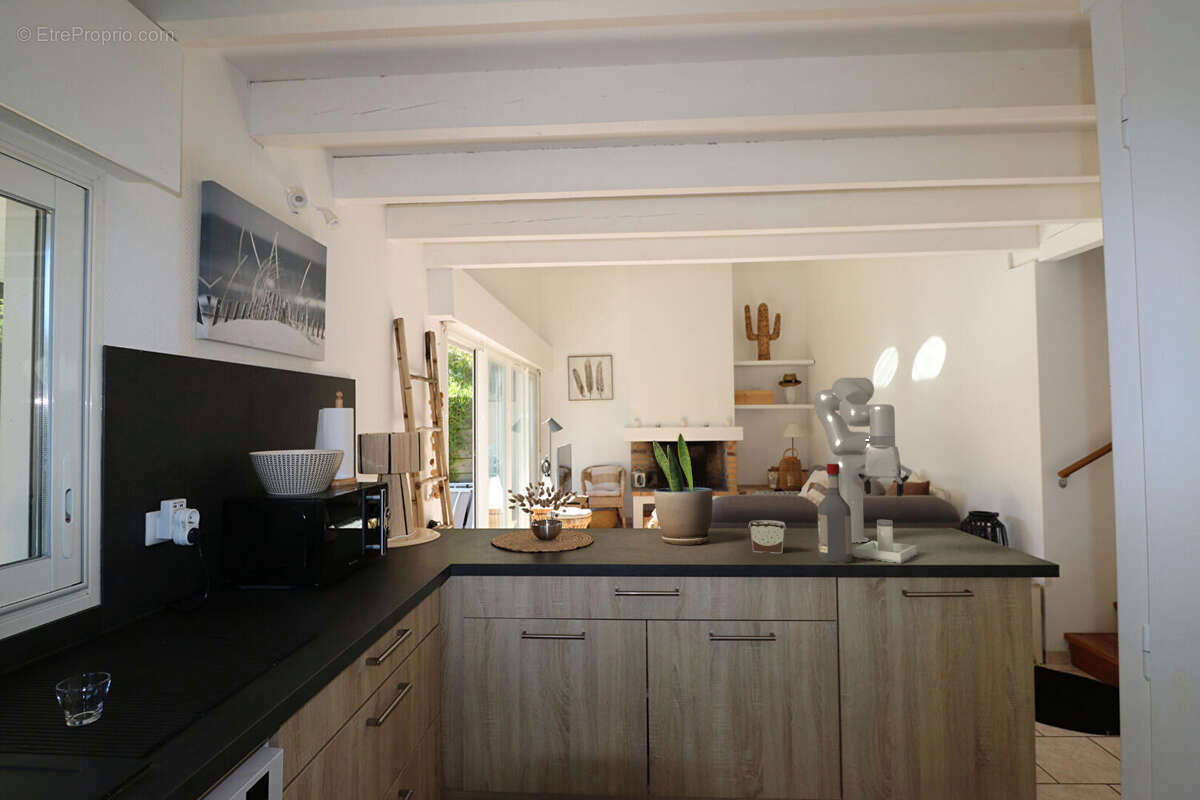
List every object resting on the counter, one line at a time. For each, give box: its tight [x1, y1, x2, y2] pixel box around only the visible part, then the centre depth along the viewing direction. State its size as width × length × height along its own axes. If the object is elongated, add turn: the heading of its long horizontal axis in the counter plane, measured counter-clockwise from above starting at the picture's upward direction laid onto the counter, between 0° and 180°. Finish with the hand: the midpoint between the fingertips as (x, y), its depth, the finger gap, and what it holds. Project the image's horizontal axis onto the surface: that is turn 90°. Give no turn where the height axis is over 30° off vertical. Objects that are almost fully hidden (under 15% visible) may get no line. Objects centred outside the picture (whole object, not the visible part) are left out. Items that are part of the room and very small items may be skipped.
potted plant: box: [652, 432, 713, 546], centre depth 231 cm, size 21×22×40 cm
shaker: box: [876, 519, 894, 552], centre depth 202 cm, size 5×5×11 cm
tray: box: [853, 540, 918, 564], centre depth 202 cm, size 14×18×3 cm
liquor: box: [817, 463, 853, 564], centre depth 196 cm, size 9×9×30 cm
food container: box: [748, 519, 787, 554], centre depth 212 cm, size 12×6×10 cm, turn 71°
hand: (883, 495), depth 203 cm, fingers open, 9 cm apart
